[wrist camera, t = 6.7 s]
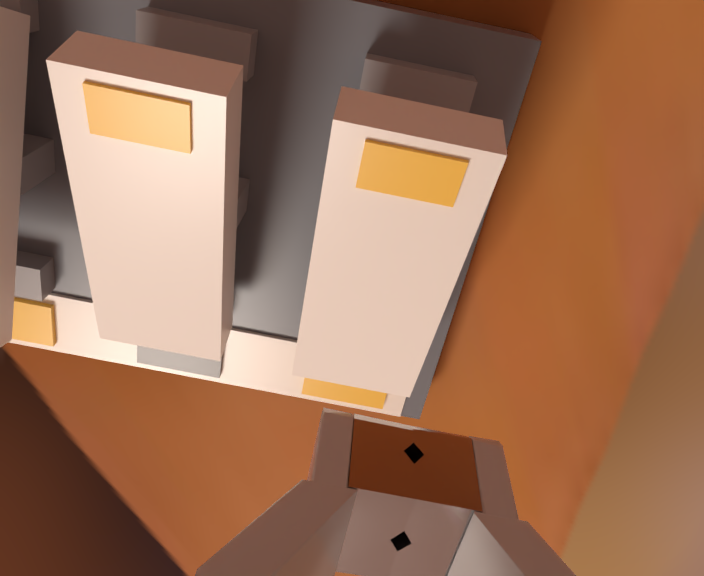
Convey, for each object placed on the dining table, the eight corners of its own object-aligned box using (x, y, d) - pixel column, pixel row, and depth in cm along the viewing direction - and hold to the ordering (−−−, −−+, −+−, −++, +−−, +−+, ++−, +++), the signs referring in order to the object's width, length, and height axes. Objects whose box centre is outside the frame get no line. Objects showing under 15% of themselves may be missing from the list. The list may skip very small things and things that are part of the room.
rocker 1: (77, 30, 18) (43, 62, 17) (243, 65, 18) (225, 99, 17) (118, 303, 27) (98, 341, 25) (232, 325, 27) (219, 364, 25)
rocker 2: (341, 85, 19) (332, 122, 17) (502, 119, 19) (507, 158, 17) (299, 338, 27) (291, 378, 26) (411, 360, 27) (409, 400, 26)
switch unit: (-102, -103, 23) (-209, -112, 19) (531, 33, 24) (558, 53, 20) (-40, 305, 32) (-103, 358, 28) (418, 393, 33) (421, 457, 29)
